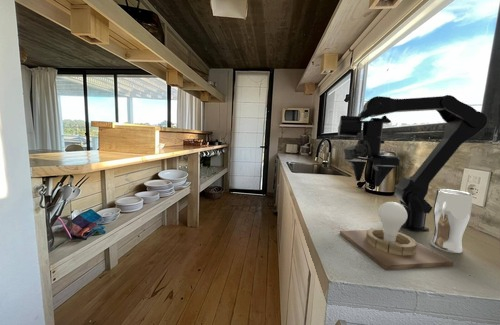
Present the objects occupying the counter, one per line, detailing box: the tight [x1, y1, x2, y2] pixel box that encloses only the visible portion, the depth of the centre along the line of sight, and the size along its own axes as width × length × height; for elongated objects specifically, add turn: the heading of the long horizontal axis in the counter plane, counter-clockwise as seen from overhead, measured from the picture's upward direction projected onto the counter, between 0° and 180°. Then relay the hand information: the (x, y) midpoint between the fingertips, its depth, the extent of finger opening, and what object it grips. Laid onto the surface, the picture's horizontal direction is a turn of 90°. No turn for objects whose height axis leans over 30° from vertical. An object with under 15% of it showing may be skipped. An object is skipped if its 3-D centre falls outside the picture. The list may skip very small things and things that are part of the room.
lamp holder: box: [339, 227, 454, 271], centre depth 54 cm, size 17×17×3 cm
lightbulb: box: [377, 201, 408, 243], centre depth 54 cm, size 6×6×11 cm
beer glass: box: [430, 188, 473, 254], centre depth 55 cm, size 7×7×15 cm
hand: (366, 183), depth 72 cm, fingers open, 9 cm apart
